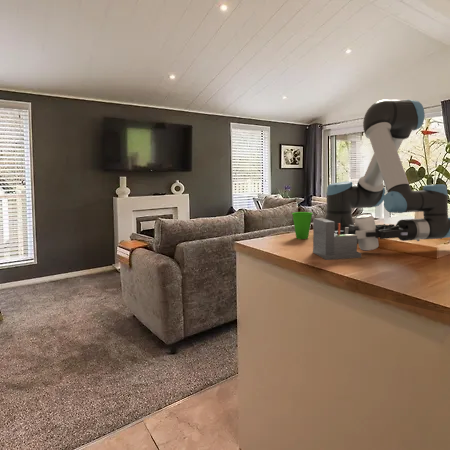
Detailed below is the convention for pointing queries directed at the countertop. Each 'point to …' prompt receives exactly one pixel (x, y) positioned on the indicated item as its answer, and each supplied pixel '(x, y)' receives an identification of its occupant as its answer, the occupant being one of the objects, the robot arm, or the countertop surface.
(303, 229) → the cup
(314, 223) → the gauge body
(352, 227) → the plunger
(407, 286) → the countertop surface
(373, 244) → the can
